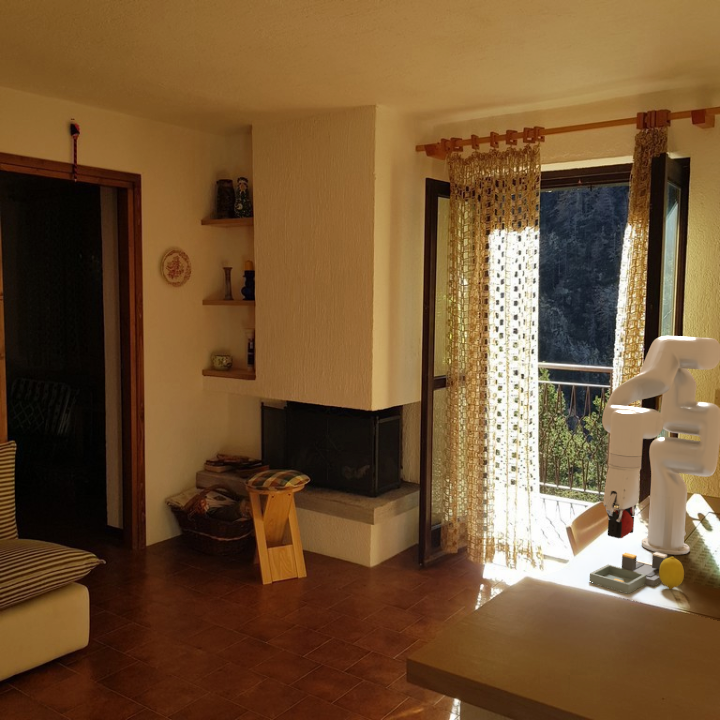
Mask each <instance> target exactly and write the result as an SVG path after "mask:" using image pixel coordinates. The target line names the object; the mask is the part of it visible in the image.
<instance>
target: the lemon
mask: <svg viewBox="0 0 720 720" xmlns="http://www.w3.org/2000/svg"><path fill="white" fill-rule="evenodd" d="M684 570H685V569H684V566H683V564H682V562H681V561H680V560H678V559H677V558H675V557H674V556H670V557H667V558H666V559H665V560H663V561H662V563H661V565H660V569H659V577H660V580H661V581H662V585H664V586H666V587H667V588H668V590H672V589H674V588H677V587H679V586H680V585H681V584H682V583H683V581H684V577H685V576H684V575H685V571H684Z"/></svg>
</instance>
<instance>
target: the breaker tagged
mask: <svg viewBox="0 0 720 720" xmlns="http://www.w3.org/2000/svg"><path fill="white" fill-rule="evenodd" d="M621 556H622V557H621V568H623V569H627V570H631V571H634V570H636V561H637V558H638V557H637V555H636V554H632V553H629V552H624V553H622V554H621Z"/></svg>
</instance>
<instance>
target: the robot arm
mask: <svg viewBox="0 0 720 720" xmlns="http://www.w3.org/2000/svg"><path fill="white" fill-rule="evenodd" d="M719 363H720V343H719V341H718V340H717V339H716V338H714V337H713V338H711V337H697V336H681V335H680V336H678V335H663V336H659V337H657V338H655V339H654V340H653V341H652V343H651V345H650V347H649V349H648V352H647V353H646V356H645V359H644V361H643V364H642V365H641V367H640V371H639V373H638V374H636V375H635V376H633V377H631V378H629V379H627V380H626V381H624V382H623V383H621V384H620V385H618V386H617V387H615V389H614V390H613V391H612V392H611V395H610V396H609V399H608V401H607V402H606V405H605V407H604V410H603V414H602V419H601V422H602V427H603V429H604V431H606V432H608V433H609V446H608V447H609V448H608V462H607V463H608V464H607V466H608V470H607V473H606V477H605V485H604V494H603V507H605V511H606V513H607V520H608V524H607V536H608V537H612V538H614V539H615V538H616V539H622V538H621V532H622V522H620V521H621V516H622V512H623V510H624V509H625V510H626V511H627V512H628V513H629V514H630V515H631V517H632V519H633V522H635V516H636V512H635V511H636V510H635V509H636V508H637V505H638V503H639V498H640V471H641V470H642V458H643V457H642V456H643V444H644V443H643V440H645V439H646V440H651V439H654V438H655V439H654V440H652V442H651V443H650V445H649V451H648V453H649V462H650V471H651V472H650V473H651V474H650V475H651V477H650V495H649V512H648V513H649V514H648V526H647V527H648V529H647V530H648V531H647V537H645V538H643V539H642V540H641V546H642V547H643V548H645V549H647V550H648V551H652V552H653V553H655V552H658V553H662V554H666V555H672V556H673V555H674V556H677V555H687V554H688V553H689V552H690V546H689V545H688V544H687V543H685V536H686V534H687V532H686V530H685V528H686V515H687V502H688V501H687V499H688V487H687V484H686V482H685V479H683V477H682V475H681V474H684V475H690V476H691V475H692V476H697V477H704V478H705V477H711V476H713V475H714V473H715V472H716V469H717V466H718V460H719V453H720V452H719V451H720V407H719V406H718V405H717V404H715V403H712V402H705V401H697V400H696V394H697V393H696V392H697V382H696V379H695V378H694V376H693V374H692V373H691V371H689V370H701V371H704V370H705V371H706V370H712V369H715V368H716V367H717V366H718V365H719ZM660 395H662V399H661V407H660V412H659V410H656V409H653V408H647V407H640V406H631V405H630V404H632V403H634V402H637V401H641V400H644V399H650V398H654V397H657V396H660ZM629 405H630V406H629ZM663 430H664V431H666V432H668V433H673V434H681V435H688V436H695V437H696V436H697V437H699V439H700V440H693V439H687V438H682V437H681V438H679V437H670V436H661V437H658V436H659V435H660V434H661V433H662V431H663ZM615 506H616V507H615ZM614 511H618V515H617V514H616V512H614ZM633 532H634V526H633V529H632V531H631V532H630V533H629V534H633Z"/></svg>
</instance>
